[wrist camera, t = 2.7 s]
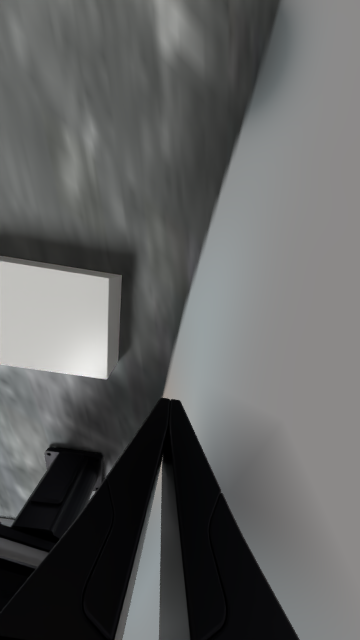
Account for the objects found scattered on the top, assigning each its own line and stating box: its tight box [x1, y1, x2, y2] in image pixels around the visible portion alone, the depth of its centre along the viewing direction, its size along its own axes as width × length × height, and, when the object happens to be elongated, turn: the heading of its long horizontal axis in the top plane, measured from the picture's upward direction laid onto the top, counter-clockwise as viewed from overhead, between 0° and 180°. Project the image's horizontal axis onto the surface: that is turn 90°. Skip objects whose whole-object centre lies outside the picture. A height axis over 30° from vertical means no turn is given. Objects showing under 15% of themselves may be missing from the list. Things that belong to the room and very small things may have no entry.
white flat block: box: [0, 256, 122, 379], centre depth 13 cm, size 8×10×2 cm
